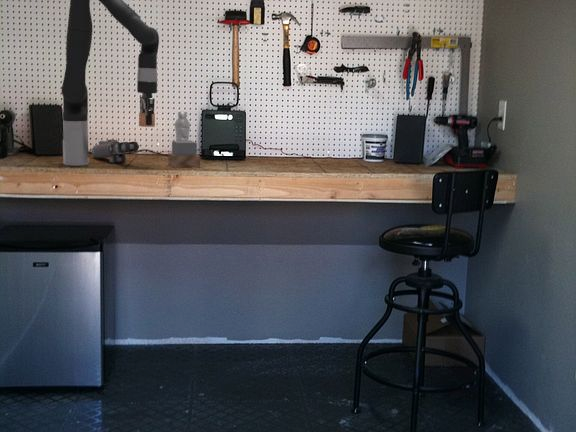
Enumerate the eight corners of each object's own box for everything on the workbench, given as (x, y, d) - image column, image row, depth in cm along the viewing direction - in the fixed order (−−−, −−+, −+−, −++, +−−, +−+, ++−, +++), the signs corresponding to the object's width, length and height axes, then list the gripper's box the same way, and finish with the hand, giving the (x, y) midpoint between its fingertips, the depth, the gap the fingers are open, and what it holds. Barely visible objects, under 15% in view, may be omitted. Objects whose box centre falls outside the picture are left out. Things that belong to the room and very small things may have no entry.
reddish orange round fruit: (141, 126, 290) (141, 113, 289) (137, 125, 295) (137, 112, 294) (156, 126, 292) (156, 113, 292) (152, 125, 298) (152, 112, 297)
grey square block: (176, 155, 297) (176, 142, 296) (172, 153, 305) (172, 140, 304) (196, 155, 300) (196, 142, 299) (191, 153, 308) (191, 140, 307)
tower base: (175, 168, 297) (175, 156, 296) (168, 165, 306) (168, 153, 305) (199, 168, 301) (199, 155, 300) (192, 165, 310) (192, 152, 309)
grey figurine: (182, 160, 322) (182, 112, 318) (171, 158, 326) (171, 111, 322) (193, 159, 327) (193, 112, 323) (182, 157, 331) (182, 111, 327)
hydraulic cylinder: (125, 161, 294) (123, 135, 293) (87, 166, 323) (85, 142, 322) (142, 160, 298) (140, 135, 298) (103, 165, 327) (101, 142, 327)
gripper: (133, 79, 296) (132, 123, 299) (142, 80, 283) (141, 126, 286) (152, 80, 299) (151, 123, 302) (161, 81, 286) (161, 126, 289)
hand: (146, 124), depth 294 cm, fingers closed on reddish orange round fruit, 6 cm apart
